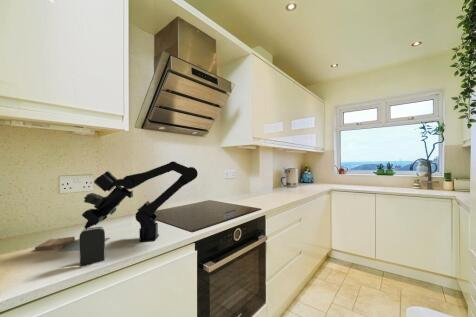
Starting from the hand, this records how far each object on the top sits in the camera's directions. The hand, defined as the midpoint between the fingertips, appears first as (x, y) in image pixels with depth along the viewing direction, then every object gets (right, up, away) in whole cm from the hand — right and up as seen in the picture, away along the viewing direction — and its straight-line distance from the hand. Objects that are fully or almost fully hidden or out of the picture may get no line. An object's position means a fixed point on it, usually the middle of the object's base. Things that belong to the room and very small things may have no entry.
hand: (85, 227), depth 84 cm
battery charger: (+14, -6, -15) cm, 22 cm away
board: (-6, -5, -1) cm, 8 cm away
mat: (+1, -7, -1) cm, 7 cm away
